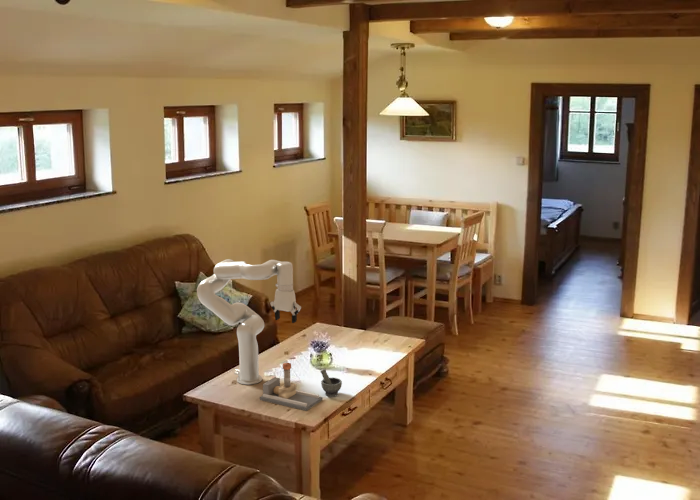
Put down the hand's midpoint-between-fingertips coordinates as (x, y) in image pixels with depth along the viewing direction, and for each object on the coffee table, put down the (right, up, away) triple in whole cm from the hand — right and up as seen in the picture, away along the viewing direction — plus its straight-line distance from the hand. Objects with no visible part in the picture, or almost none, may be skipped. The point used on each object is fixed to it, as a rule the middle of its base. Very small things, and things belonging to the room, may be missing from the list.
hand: (285, 320), depth 386 cm
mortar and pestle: (+22, -35, -4) cm, 42 cm away
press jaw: (+2, -35, -11) cm, 36 cm away
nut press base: (+3, -37, -11) cm, 38 cm away
